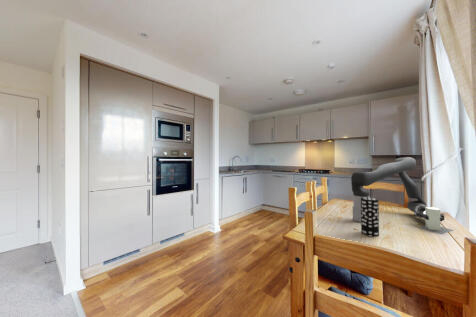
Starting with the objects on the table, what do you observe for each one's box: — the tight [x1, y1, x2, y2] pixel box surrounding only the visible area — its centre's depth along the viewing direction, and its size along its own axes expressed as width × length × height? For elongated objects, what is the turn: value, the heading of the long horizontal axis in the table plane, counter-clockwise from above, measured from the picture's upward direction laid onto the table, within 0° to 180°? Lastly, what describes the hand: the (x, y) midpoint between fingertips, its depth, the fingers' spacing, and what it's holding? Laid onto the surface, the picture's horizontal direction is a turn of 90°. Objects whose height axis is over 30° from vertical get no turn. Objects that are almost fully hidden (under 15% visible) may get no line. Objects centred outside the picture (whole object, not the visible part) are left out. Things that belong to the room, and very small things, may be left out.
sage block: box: [425, 206, 441, 231], centre depth 114 cm, size 5×5×12 cm
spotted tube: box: [360, 196, 380, 238], centre depth 109 cm, size 8×8×20 cm
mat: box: [419, 225, 454, 235], centre depth 113 cm, size 14×10×1 cm
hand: (434, 218), depth 111 cm, fingers closed on sage block, 5 cm apart
